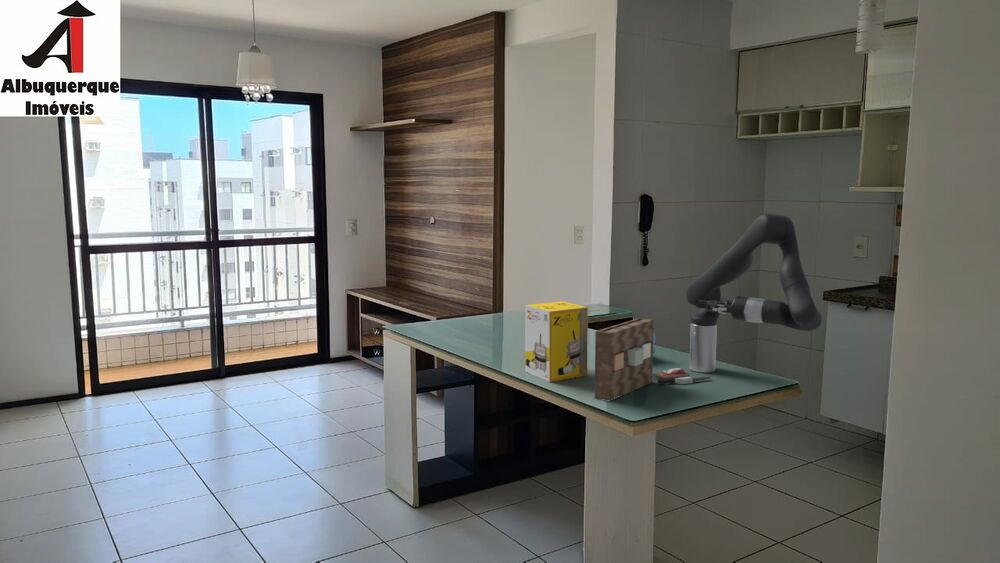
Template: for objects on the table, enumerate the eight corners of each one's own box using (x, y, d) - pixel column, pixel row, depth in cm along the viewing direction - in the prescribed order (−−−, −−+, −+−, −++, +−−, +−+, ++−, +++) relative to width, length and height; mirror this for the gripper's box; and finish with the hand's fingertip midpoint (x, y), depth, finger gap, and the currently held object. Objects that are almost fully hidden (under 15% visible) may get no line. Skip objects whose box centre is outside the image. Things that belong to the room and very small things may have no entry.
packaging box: (587, 375, 255) (587, 307, 252) (549, 382, 247) (549, 311, 244) (561, 365, 269) (561, 300, 266) (525, 371, 261) (524, 304, 258)
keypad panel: (638, 379, 250) (639, 317, 247) (652, 382, 247) (653, 319, 243) (594, 398, 229) (595, 331, 226) (609, 401, 225) (610, 333, 222)
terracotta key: (611, 365, 232) (611, 350, 232) (623, 367, 229) (623, 352, 229) (603, 368, 229) (603, 353, 228) (615, 370, 226) (615, 355, 225)
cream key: (638, 354, 246) (639, 340, 245) (650, 356, 243) (650, 342, 242) (631, 357, 242) (631, 343, 241) (643, 359, 239) (643, 345, 239)
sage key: (630, 361, 238) (631, 346, 237) (642, 363, 235) (643, 348, 234) (623, 364, 234) (623, 349, 233) (635, 366, 231) (635, 351, 230)
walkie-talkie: (661, 388, 241) (712, 382, 247) (662, 375, 240) (712, 369, 247) (648, 381, 249) (697, 375, 256) (648, 369, 249) (697, 363, 255)
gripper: (759, 294, 221) (706, 289, 233) (742, 300, 211) (688, 294, 223) (758, 318, 222) (705, 312, 234) (741, 325, 212) (687, 318, 224)
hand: (697, 303), depth 228 cm, fingers closed
